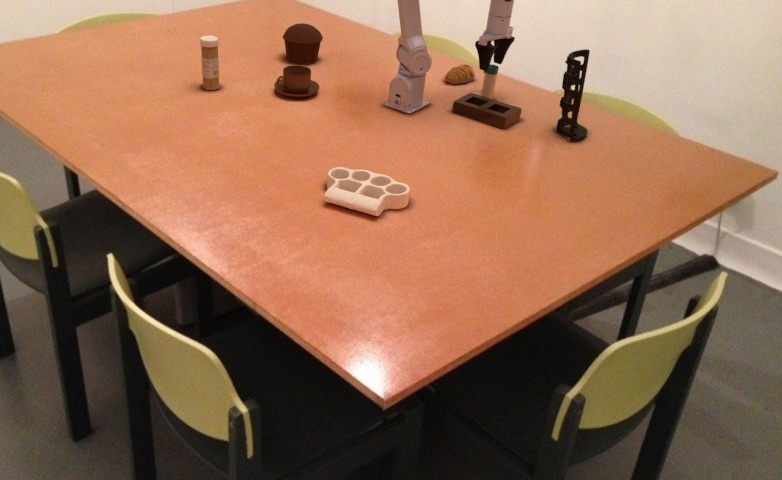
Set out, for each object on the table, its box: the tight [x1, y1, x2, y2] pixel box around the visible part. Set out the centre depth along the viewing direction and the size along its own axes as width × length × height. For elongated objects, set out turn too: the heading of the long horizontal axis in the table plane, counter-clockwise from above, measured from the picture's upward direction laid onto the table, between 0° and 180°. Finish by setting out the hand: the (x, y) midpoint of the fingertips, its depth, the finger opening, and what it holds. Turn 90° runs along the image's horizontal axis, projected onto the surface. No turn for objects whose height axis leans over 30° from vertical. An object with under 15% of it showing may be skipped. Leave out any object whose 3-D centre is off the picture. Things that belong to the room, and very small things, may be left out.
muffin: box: [282, 22, 324, 65], centre depth 225 cm, size 12×11×10 cm
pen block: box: [451, 92, 523, 130], centre depth 199 cm, size 9×15×3 cm, turn 52°
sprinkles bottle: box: [199, 34, 220, 91], centre depth 202 cm, size 5×5×13 cm
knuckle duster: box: [323, 166, 411, 217], centre depth 159 cm, size 3×18×15 cm
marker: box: [480, 63, 500, 100], centre depth 207 cm, size 3×4×9 cm
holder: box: [556, 48, 591, 143], centre depth 188 cm, size 11×8×20 cm
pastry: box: [444, 63, 476, 85], centre depth 219 cm, size 9×7×4 cm
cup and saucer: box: [273, 64, 320, 98], centre depth 204 cm, size 12×12×6 cm
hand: (490, 66), depth 204 cm, fingers open, 7 cm apart
